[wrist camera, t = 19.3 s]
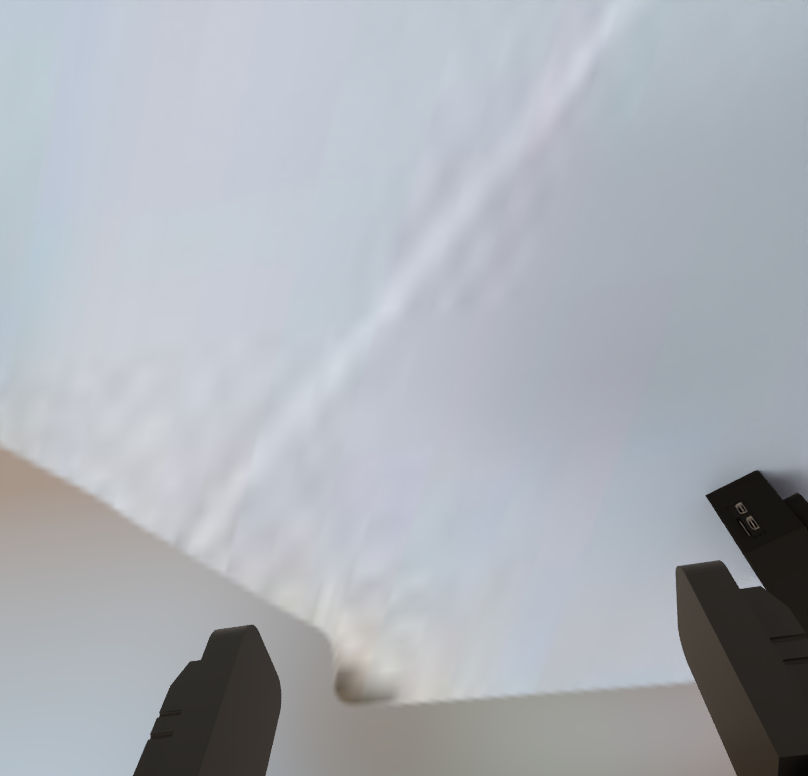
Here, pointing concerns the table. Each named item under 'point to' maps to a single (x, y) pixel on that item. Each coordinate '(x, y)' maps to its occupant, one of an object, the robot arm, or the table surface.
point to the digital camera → (769, 537)
